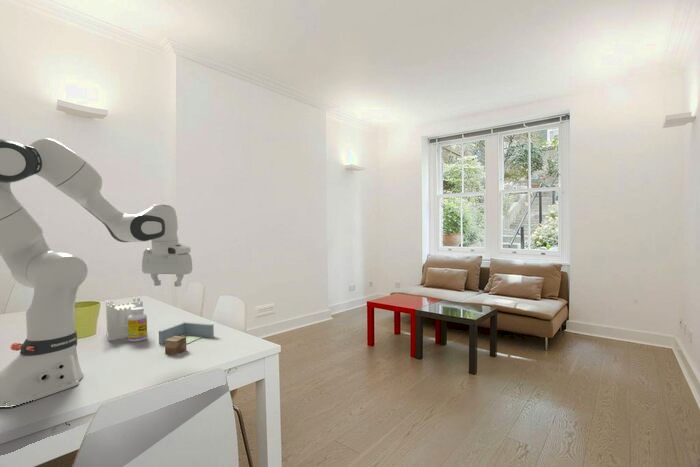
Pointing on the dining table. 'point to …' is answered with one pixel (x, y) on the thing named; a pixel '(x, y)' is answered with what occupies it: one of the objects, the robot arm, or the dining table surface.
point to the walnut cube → (175, 345)
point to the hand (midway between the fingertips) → (167, 285)
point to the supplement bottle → (137, 325)
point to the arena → (187, 331)
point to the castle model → (119, 318)
